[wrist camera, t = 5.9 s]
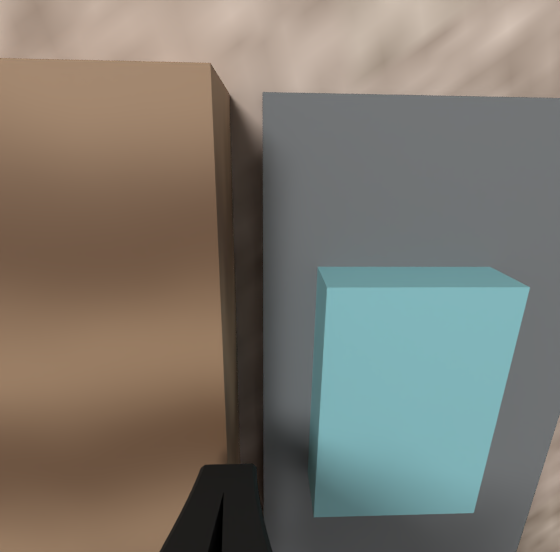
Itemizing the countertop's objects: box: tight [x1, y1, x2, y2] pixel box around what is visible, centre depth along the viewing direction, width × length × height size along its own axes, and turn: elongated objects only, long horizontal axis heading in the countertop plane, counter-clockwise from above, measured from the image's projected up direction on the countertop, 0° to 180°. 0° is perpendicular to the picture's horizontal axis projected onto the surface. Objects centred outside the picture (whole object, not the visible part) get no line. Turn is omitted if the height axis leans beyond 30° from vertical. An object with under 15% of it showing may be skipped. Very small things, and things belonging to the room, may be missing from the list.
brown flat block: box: [0, 58, 240, 552], centre depth 12 cm, size 20×10×4 cm, turn 179°
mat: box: [263, 92, 560, 552], centre depth 14 cm, size 20×12×1 cm, turn 179°
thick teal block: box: [308, 267, 530, 517], centre depth 13 cm, size 9×6×2 cm, turn 179°
